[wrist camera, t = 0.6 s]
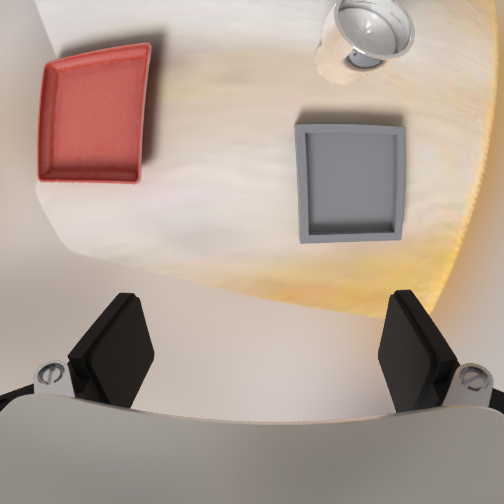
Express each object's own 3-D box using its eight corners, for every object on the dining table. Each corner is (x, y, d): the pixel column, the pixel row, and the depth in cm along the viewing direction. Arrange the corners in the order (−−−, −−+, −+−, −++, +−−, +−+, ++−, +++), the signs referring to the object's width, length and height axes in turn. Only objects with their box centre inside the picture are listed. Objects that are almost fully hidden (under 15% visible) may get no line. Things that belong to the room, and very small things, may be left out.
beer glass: (301, 44, 30) (315, -8, 16) (353, 32, 28) (394, -18, 14) (323, 95, 32) (353, 69, 18) (375, 81, 30) (430, 55, 16)
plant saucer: (56, 65, 32) (42, 62, 28) (161, 47, 31) (151, 40, 28) (50, 178, 38) (37, 182, 35) (151, 180, 38) (140, 185, 35)
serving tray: (294, 125, 33) (295, 124, 31) (397, 127, 32) (404, 127, 30) (299, 237, 38) (300, 243, 36) (395, 234, 37) (401, 240, 35)
